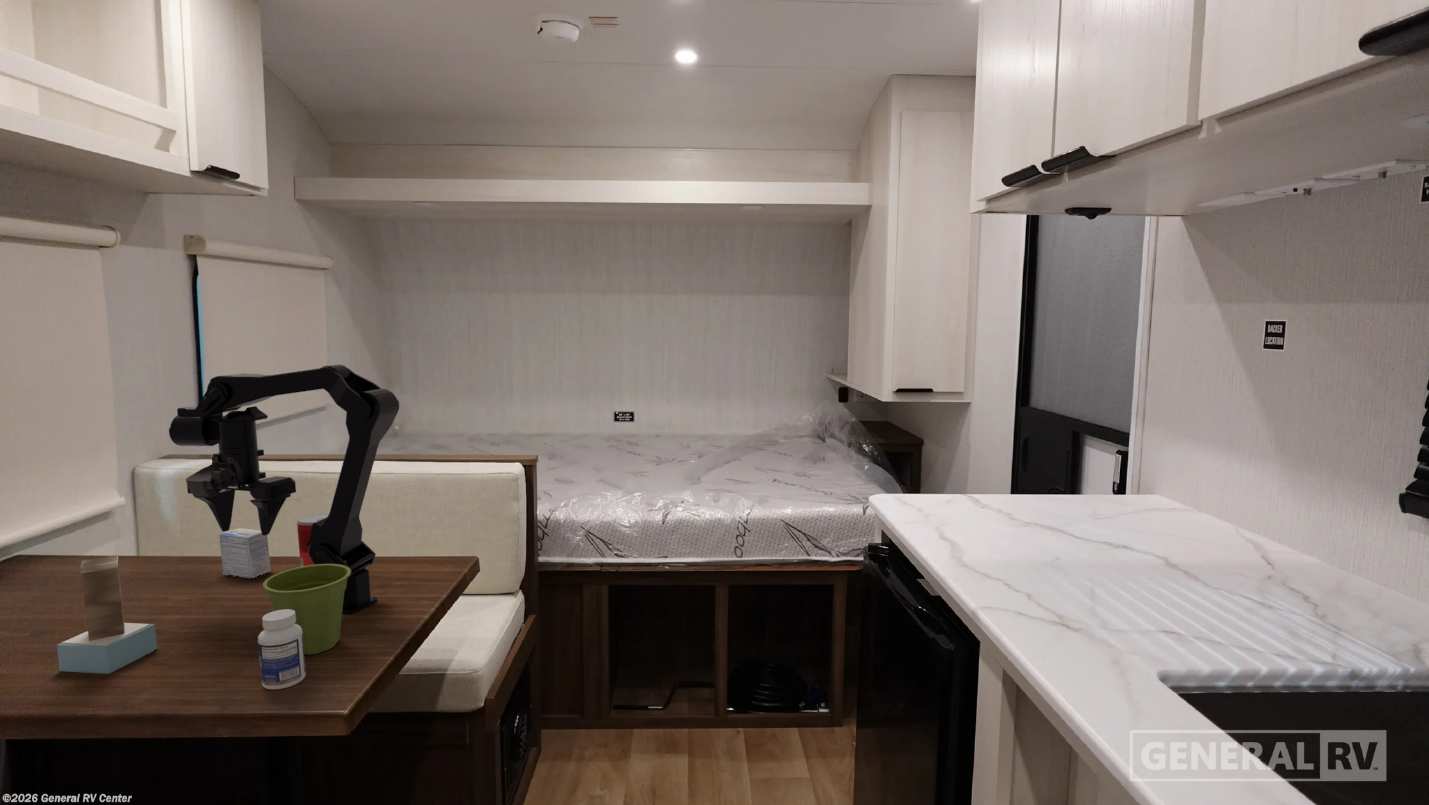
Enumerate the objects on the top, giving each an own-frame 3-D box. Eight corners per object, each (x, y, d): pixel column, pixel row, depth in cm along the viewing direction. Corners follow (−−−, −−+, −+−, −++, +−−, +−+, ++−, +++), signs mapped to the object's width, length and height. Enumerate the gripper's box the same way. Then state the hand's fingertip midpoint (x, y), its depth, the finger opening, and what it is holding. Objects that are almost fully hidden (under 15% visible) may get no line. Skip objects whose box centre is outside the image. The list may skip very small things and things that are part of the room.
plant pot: (249, 659, 110) (243, 586, 109) (312, 627, 121) (307, 561, 120) (314, 668, 107) (308, 593, 106) (372, 634, 118) (368, 566, 117)
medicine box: (271, 572, 148) (268, 530, 147) (251, 579, 144) (247, 536, 143) (242, 568, 151) (239, 527, 150) (222, 575, 147) (218, 533, 146)
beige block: (125, 625, 113) (117, 555, 111) (124, 633, 109) (117, 562, 108) (90, 632, 110) (82, 560, 109) (88, 641, 107) (80, 568, 106)
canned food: (326, 577, 145) (322, 523, 144) (291, 575, 147) (287, 521, 145) (352, 564, 152) (349, 513, 151) (319, 562, 154) (315, 511, 153)
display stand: (157, 649, 114) (154, 623, 113) (109, 673, 106) (105, 646, 105) (111, 646, 115) (108, 621, 114) (59, 671, 107) (56, 643, 106)
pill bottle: (273, 673, 106) (268, 607, 104) (312, 671, 106) (307, 606, 105) (253, 692, 100) (247, 623, 99) (294, 690, 101) (289, 621, 100)
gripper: (152, 451, 124) (160, 542, 125) (237, 456, 118) (245, 551, 120) (214, 441, 134) (221, 524, 136) (295, 445, 129) (301, 532, 131)
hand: (245, 533), depth 130 cm, fingers open, 9 cm apart
